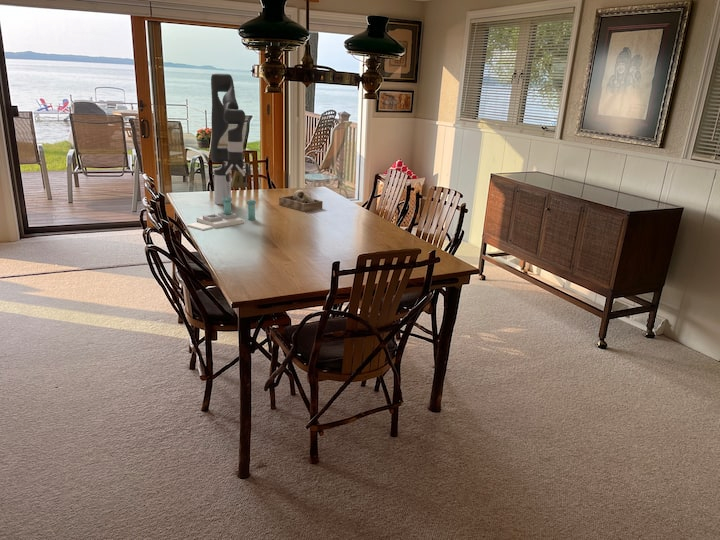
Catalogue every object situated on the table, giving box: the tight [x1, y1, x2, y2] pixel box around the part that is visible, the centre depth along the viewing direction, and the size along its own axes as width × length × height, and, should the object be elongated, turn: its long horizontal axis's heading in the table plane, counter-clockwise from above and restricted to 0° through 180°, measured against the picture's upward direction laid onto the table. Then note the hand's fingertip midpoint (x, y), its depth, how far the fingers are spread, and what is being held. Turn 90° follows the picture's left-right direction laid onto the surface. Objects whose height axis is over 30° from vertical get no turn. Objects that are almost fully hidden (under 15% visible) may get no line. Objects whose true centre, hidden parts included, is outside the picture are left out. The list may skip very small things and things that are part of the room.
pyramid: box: [231, 171, 250, 189], centre depth 364 cm, size 13×13×18 cm
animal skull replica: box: [292, 189, 314, 204], centre depth 314 cm, size 8×17×10 cm, turn 49°
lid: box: [186, 221, 214, 231], centre depth 261 cm, size 12×6×1 cm, turn 56°
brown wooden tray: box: [278, 194, 323, 213], centre depth 316 cm, size 23×14×4 cm, turn 48°
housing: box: [196, 211, 245, 229], centre depth 272 cm, size 17×17×4 cm
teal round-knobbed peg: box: [246, 199, 257, 221], centre depth 280 cm, size 5×5×10 cm
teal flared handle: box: [222, 197, 233, 215], centre depth 273 cm, size 5×5×10 cm
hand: (236, 182), depth 271 cm, fingers open, 8 cm apart
